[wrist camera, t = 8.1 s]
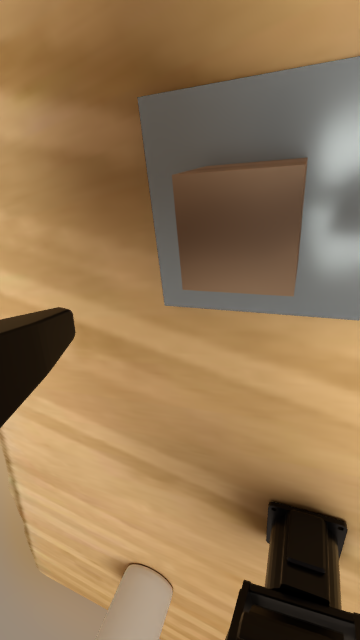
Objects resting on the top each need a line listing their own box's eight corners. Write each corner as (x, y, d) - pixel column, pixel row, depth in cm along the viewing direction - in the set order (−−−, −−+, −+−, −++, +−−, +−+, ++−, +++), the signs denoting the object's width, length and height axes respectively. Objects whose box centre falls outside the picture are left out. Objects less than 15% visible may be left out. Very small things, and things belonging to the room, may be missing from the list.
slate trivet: (357, 313, 18) (359, 320, 18) (169, 300, 22) (164, 305, 22) (409, 50, 13) (414, 46, 12) (144, 98, 17) (137, 97, 16)
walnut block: (298, 259, 17) (293, 296, 13) (210, 257, 19) (182, 289, 15) (307, 157, 15) (305, 164, 11) (206, 166, 17) (171, 175, 13)
